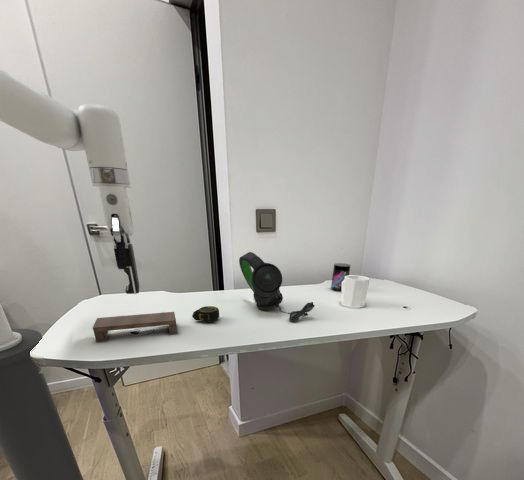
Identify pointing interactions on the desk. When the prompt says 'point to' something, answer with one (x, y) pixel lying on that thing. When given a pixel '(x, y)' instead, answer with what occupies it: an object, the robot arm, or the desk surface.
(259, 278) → the headset
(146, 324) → the shelf
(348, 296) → the mug
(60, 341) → the desk surface
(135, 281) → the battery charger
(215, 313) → the tape measure
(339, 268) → the supplement container
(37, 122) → the robot arm
